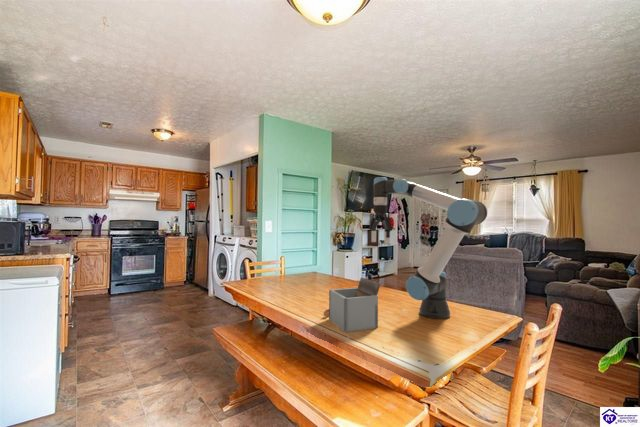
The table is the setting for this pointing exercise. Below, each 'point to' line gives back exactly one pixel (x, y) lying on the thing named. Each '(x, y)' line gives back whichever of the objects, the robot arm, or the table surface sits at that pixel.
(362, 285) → the trapdoor
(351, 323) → the grey box
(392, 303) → the table surface
